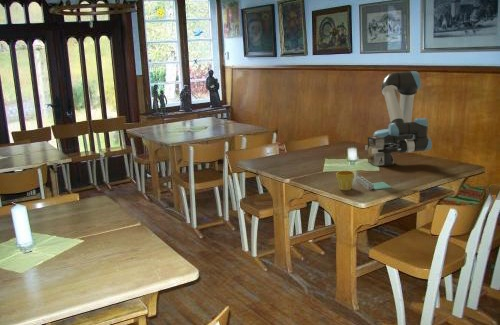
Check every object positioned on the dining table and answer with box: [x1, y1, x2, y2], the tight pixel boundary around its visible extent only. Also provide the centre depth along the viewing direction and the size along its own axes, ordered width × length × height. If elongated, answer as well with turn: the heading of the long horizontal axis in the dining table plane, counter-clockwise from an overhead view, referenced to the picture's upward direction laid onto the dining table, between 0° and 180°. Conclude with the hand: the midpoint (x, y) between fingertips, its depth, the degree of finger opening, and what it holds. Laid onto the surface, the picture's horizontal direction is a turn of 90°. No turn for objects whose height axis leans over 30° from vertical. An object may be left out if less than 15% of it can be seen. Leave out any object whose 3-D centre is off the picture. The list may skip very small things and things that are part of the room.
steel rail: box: [356, 175, 375, 191], centre depth 300 cm, size 3×20×3 cm, turn 8°
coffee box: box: [367, 135, 384, 167], centre depth 296 cm, size 9×6×16 cm
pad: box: [371, 181, 392, 191], centre depth 296 cm, size 10×12×1 cm
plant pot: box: [335, 170, 355, 191], centre depth 295 cm, size 10×10×10 cm
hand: (368, 149), depth 295 cm, fingers closed on coffee box, 10 cm apart
